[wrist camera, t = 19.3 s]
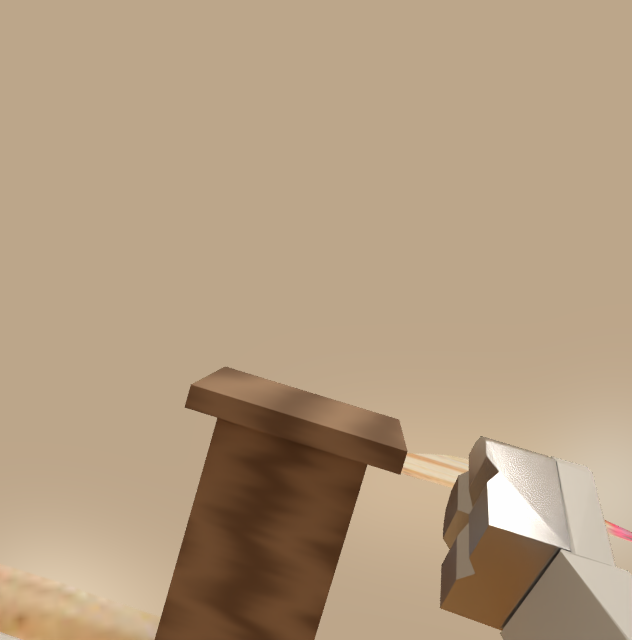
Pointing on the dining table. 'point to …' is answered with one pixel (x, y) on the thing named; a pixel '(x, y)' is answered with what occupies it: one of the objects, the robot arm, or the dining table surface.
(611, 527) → the dining table surface
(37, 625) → the dining table surface
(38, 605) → the dining table surface
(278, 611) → the walnut stand
